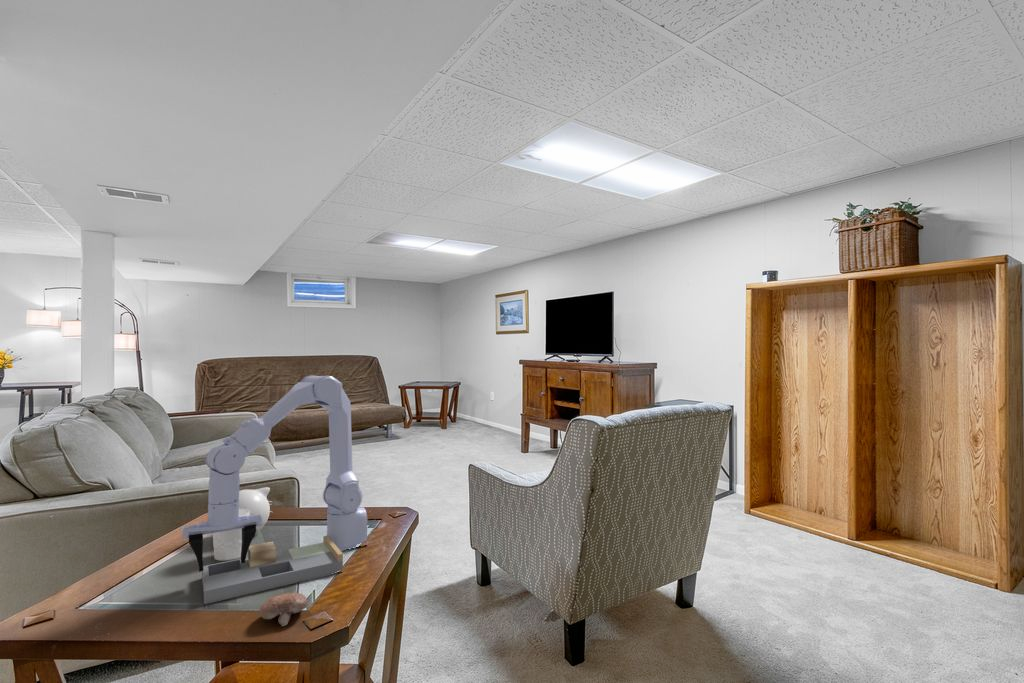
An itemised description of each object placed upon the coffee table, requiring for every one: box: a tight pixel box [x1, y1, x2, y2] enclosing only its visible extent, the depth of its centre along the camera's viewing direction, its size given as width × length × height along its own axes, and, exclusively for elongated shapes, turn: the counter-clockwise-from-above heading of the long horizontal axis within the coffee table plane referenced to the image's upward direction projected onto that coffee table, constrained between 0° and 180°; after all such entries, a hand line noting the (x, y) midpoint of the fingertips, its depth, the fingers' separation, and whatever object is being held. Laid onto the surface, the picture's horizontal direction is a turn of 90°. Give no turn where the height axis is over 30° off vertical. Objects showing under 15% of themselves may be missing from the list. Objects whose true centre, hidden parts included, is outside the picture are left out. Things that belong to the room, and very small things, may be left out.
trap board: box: [201, 534, 344, 605], centre depth 107 cm, size 26×14×4 cm, turn 124°
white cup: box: [212, 509, 250, 562], centre depth 118 cm, size 8×8×10 cm
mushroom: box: [259, 592, 308, 627], centre depth 88 cm, size 8×6×8 cm
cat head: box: [239, 486, 273, 533], centre depth 131 cm, size 15×13×12 cm
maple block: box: [247, 541, 277, 567], centre depth 108 cm, size 5×5×3 cm
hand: (222, 565), depth 104 cm, fingers open, 7 cm apart
